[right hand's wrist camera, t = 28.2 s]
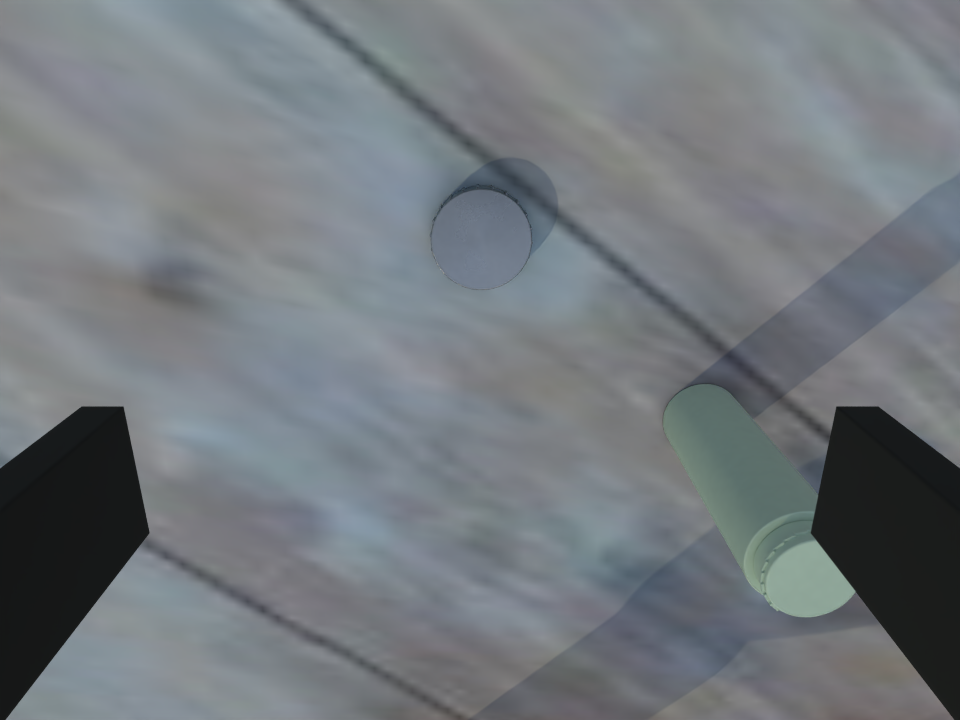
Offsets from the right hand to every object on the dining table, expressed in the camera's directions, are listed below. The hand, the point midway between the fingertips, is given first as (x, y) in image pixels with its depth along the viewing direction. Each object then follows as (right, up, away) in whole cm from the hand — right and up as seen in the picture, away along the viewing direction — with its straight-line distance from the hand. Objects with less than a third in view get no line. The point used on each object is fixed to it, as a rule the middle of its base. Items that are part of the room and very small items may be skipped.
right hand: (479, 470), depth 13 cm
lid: (0, +8, +23) cm, 25 cm away
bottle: (+13, -1, +28) cm, 31 cm away
